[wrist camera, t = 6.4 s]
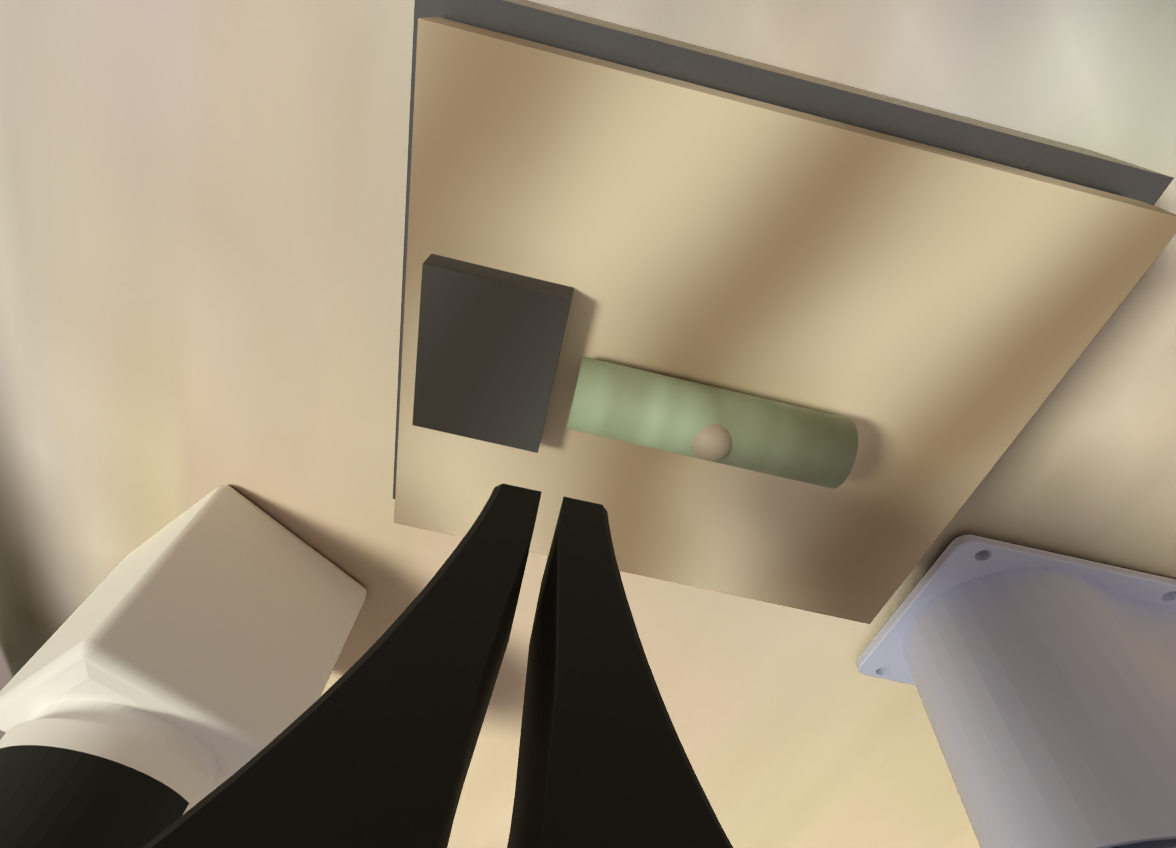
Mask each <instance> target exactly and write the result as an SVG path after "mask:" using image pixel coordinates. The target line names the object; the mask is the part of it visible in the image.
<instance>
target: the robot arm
mask: <svg viewBox="0 0 1176 848" xmlns="http://www.w3.org/2000/svg"><path fill="white" fill-rule="evenodd" d="M541 493H542V492H541V491H536V490H531V489H527V488H522V487H517V486H513V485H508V484H503V483H502V484H500V485H498V486H496V487H494V489H493V491H492V493H491V495H490V497H489V499H488V501H487V503H486V504H485V506H484V508H483V510H482V511H481V513H480V514H479V516H478V518H477V519H476V521H475V522H474V524H473V525H472V527H471V528H470V529H469V531H468V532H467V534H466V535H465V537H464V538H463V539H462V541H461V542H460V544H459V545H458V546H457V548H456V549H455V550H454V551H453V553H452V554H451V555H450V557H449V558H448V559H447V560H446V562H445V563H444V564H443V565H442V567H441V568H440V569H439V571H438V572H437V573H436V574H435V576H434V577H433V578H432V579H431V581H430V582H429V583H428V584H427V586H426V587H425V588H424V589H423V590H422V592H421V593H420V594H419V595H418V596H417V597H416V598H415V599H414V601H413V602H412V603H411V604H410V605H409V606H408V607H407V608H406V610H405V611H404V612H403V613H402V614H401V615H400V616H399V617H398V618H397V620H396V621H395V622H394V623H393V624H392V625H391V626H390V627H389V629H388V630H387V631H386V632H385V633H384V634H383V635H382V636H381V637H380V638H379V639H378V640H377V642H376V643H375V644H374V645H373V646H372V647H371V648H370V649H369V650H368V651H367V652H366V653H365V654H364V655H363V656H362V657H361V658H360V659H359V660H358V661H357V662H356V663H355V664H354V665H353V666H352V667H351V668H350V669H349V670H348V671H347V672H346V673H345V674H344V675H343V676H342V677H341V678H340V679H339V680H338V681H337V682H336V683H335V684H334V685H333V686H332V687H331V688H329V689H328V690H327V691H326V692H325V693H324V694H323V695H322V696H321V697H320V698H319V699H318V700H317V701H316V702H315V703H314V704H312V705H311V706H310V707H309V708H308V709H307V710H306V711H305V712H304V713H303V714H301V715H300V716H299V717H298V718H297V719H296V720H295V721H294V722H293V723H291V724H290V725H289V726H288V727H287V728H286V729H285V730H284V731H283V732H281V733H280V734H279V735H278V736H277V737H276V738H275V739H274V740H273V741H272V742H270V743H269V744H268V745H267V746H266V747H265V748H264V749H262V750H261V751H260V752H259V753H258V754H257V755H255V756H254V757H253V758H252V759H251V760H250V761H248V762H247V763H246V764H245V765H244V766H243V767H241V768H240V769H239V770H238V771H237V772H235V773H234V774H233V775H232V776H231V777H229V778H228V779H227V780H226V781H224V782H223V783H222V784H221V785H219V786H218V787H217V788H216V789H214V790H213V791H212V792H211V793H210V794H208V795H207V796H206V797H205V798H203V799H202V800H201V801H200V802H198V803H197V804H196V805H195V806H193V807H192V808H191V809H190V810H188V811H187V812H186V813H185V814H183V815H182V816H181V817H180V818H178V819H177V820H176V821H175V822H173V823H172V824H171V825H170V826H168V827H167V828H166V829H165V830H163V831H162V832H161V833H160V834H158V835H157V836H156V837H155V838H153V839H152V840H151V841H150V842H148V843H147V844H146V845H145V846H143V847H142V848H447V846H448V842H449V837H450V833H451V829H452V824H453V820H454V816H455V813H456V809H457V806H458V802H459V798H460V795H461V791H462V788H463V784H464V781H465V778H466V775H467V771H468V768H469V765H470V762H471V759H472V755H473V752H474V749H475V746H476V743H477V740H478V736H479V733H480V730H481V727H482V724H483V721H484V717H485V714H486V711H487V708H488V705H489V702H490V698H491V695H492V692H493V689H494V686H495V682H496V679H497V676H498V673H499V670H500V667H501V663H502V660H503V657H504V654H505V651H506V647H507V644H508V641H509V637H510V632H511V628H512V623H513V619H514V615H515V610H516V606H517V601H518V597H519V593H520V588H521V584H522V579H523V575H524V571H525V566H526V562H527V557H528V553H529V548H530V544H531V540H532V535H533V531H534V526H535V522H536V517H537V512H538V507H539V502H540V498H541ZM982 550H983V551H982ZM979 551H980V552H979ZM856 665H857V668H858V671H859V672H860V673H861V674H864V675H867V676H872V677H877V678H882V679H887V680H892V681H897V682H902V683H907V684H912V685H916V688H917V690H918V693H919V695H920V698H921V700H922V703H923V705H924V708H925V710H926V713H927V715H928V718H929V720H930V723H931V725H932V728H933V730H934V733H935V735H936V738H937V740H938V743H939V745H940V748H941V750H942V753H943V755H944V758H945V760H946V763H947V765H948V768H949V770H950V773H951V775H952V778H953V780H954V783H955V785H956V788H957V790H958V793H959V795H960V798H961V800H962V803H963V805H964V808H965V810H966V813H967V815H968V818H969V820H970V823H971V825H972V828H973V830H974V833H975V835H976V838H977V840H978V843H979V845H980V848H1176V579H1171V578H1167V577H1162V576H1157V575H1153V574H1148V573H1144V572H1139V571H1135V570H1130V569H1126V568H1121V567H1116V566H1112V565H1107V564H1103V563H1098V562H1094V561H1089V560H1085V559H1080V558H1075V557H1071V556H1066V555H1062V554H1057V553H1053V552H1048V551H1044V550H1039V549H1034V548H1030V547H1025V546H1021V545H1016V544H1012V543H1007V542H1003V541H998V540H993V539H989V538H984V537H980V536H975V535H962V536H959V537H957V538H955V539H954V540H953V541H952V542H951V543H950V545H949V546H948V547H947V548H946V549H945V551H944V552H943V553H942V554H941V556H940V557H939V558H938V559H937V561H936V562H935V563H934V564H933V566H932V567H931V568H930V569H929V571H928V572H927V573H926V574H925V576H924V577H923V578H922V579H921V580H920V582H919V583H918V584H917V585H916V587H915V588H914V589H913V590H912V592H911V593H910V594H909V595H908V597H907V598H906V599H905V600H904V602H903V603H902V604H901V605H900V606H899V608H898V609H897V610H896V611H895V613H894V614H893V615H892V616H891V618H890V619H889V620H888V621H887V623H886V624H885V625H884V626H883V628H882V629H881V630H880V631H879V633H878V634H877V635H876V636H875V637H874V639H873V640H872V641H871V642H870V644H869V645H868V646H867V647H866V649H865V650H864V651H863V652H862V654H861V655H860V656H859V657H858V659H857V660H856ZM507 848H733V847H732V845H731V843H730V841H729V839H728V838H727V836H726V834H725V832H724V830H723V829H722V827H721V825H720V823H719V821H718V819H717V817H716V815H715V813H714V811H713V809H712V807H711V805H710V803H709V801H708V799H707V797H706V795H705V793H704V791H703V789H702V787H701V785H700V783H699V781H698V779H697V776H696V774H695V772H694V770H693V768H692V766H691V764H690V762H689V759H688V757H687V755H686V753H685V751H684V748H683V746H682V744H681V742H680V740H679V738H678V735H677V733H676V731H675V728H674V726H673V724H672V721H671V719H670V717H669V714H668V712H667V710H666V707H665V705H664V702H663V700H662V697H661V695H660V692H659V690H658V687H657V685H656V682H655V679H654V677H653V674H652V671H651V669H650V666H649V664H648V661H647V658H646V655H645V653H644V650H643V647H642V644H641V641H640V638H639V635H638V632H637V629H636V626H635V623H634V620H633V617H632V613H631V610H630V607H629V604H628V601H627V598H626V594H625V591H624V587H623V584H622V580H621V576H620V572H619V568H618V564H617V560H616V556H615V552H614V547H613V543H612V538H611V532H610V526H609V520H608V512H607V510H606V509H605V508H604V506H603V505H602V504H597V503H592V502H587V501H583V500H578V499H573V498H569V497H563V500H562V504H561V508H560V512H559V516H558V520H557V524H556V528H555V532H554V536H553V540H552V544H551V548H550V551H549V555H548V559H547V563H546V567H545V571H544V575H543V579H542V583H541V588H540V593H539V598H538V603H537V608H536V613H535V618H534V624H533V629H532V634H531V639H530V644H529V654H528V664H527V674H526V684H525V695H524V705H523V716H522V726H521V737H520V747H519V758H518V768H517V779H516V790H515V798H514V806H513V814H512V821H511V829H510V835H509V841H508V846H507Z"/></svg>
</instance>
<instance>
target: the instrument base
mask: <svg viewBox="0 0 1176 848" xmlns="http://www.w3.org/2000/svg"><path fill="white" fill-rule="evenodd" d="M427 17H441V18H445V19H449V20H452V21H456V22H460V23H464V24H468V25H471V26H475V27H479V28H483V29H487V30H491V31H494V32H498V33H502V34H506V35H510V36H513V37H517V38H521V39H525V40H529V41H532V42H536V43H540V44H544V45H548V46H551V47H555V48H559V49H563V50H567V51H571V52H574V53H578V54H582V55H586V56H590V57H593V58H597V59H601V60H605V61H609V62H612V63H616V64H620V65H624V66H628V67H632V68H635V69H639V70H643V71H647V72H651V73H654V74H658V75H662V76H666V77H670V78H673V79H677V80H681V81H685V82H689V83H693V84H696V85H700V86H704V87H708V88H712V89H715V90H719V91H723V92H727V93H731V94H734V95H738V96H742V97H746V98H750V99H754V100H757V101H761V102H765V103H769V104H773V105H776V106H780V107H784V108H788V109H792V110H795V111H799V112H803V113H807V114H811V115H815V116H818V117H822V118H826V119H830V120H834V121H837V122H841V123H845V124H849V125H853V126H856V127H860V128H864V129H868V130H872V131H876V132H879V133H883V134H887V135H891V136H895V137H898V138H902V139H906V140H910V141H914V142H917V143H921V144H925V145H929V146H933V147H937V148H940V149H944V150H948V151H952V152H956V153H959V154H963V155H967V156H971V157H975V158H978V159H982V160H986V161H990V162H994V163H998V164H1001V165H1005V166H1009V167H1013V168H1017V169H1020V170H1024V171H1028V172H1032V173H1036V174H1039V175H1043V176H1047V177H1051V178H1055V179H1059V180H1062V181H1066V182H1070V183H1074V184H1078V185H1081V186H1085V187H1089V188H1093V189H1097V190H1100V191H1104V192H1108V193H1112V194H1116V195H1119V196H1123V197H1127V198H1131V199H1135V200H1139V201H1142V202H1145V203H1147V204H1150V205H1152V206H1154V204H1155V203H1156V202H1157V200H1158V199H1159V197H1160V196H1161V195H1162V193H1163V192H1164V191H1165V189H1166V188H1167V187H1168V185H1169V184H1170V183H1171V181H1172V180H1173V179H1174V178H1173V177H1170V176H1166V175H1163V174H1160V173H1157V172H1154V171H1151V170H1148V169H1145V168H1142V167H1139V166H1136V165H1133V164H1130V163H1127V162H1124V161H1121V160H1118V159H1115V158H1112V157H1109V156H1106V155H1103V154H1100V153H1097V152H1094V151H1091V150H1087V149H1083V148H1080V147H1076V146H1072V145H1068V144H1065V143H1061V142H1057V141H1053V140H1050V139H1046V138H1042V137H1038V136H1035V135H1031V134H1027V133H1023V132H1020V131H1016V130H1012V129H1008V128H1004V127H1001V126H997V125H993V124H989V123H986V122H982V121H978V120H974V119H971V118H967V117H963V116H959V115H956V114H952V113H948V112H944V111H941V110H937V109H933V108H929V107H925V106H922V105H918V104H914V103H910V102H907V101H903V100H899V99H895V98H892V97H888V96H884V95H880V94H877V93H873V92H869V91H865V90H862V89H858V88H854V87H850V86H846V85H843V84H839V83H835V82H831V81H828V80H824V79H820V78H816V77H813V76H809V75H805V74H801V73H798V72H794V71H790V70H786V69H783V68H779V67H775V66H771V65H768V64H764V63H760V62H756V61H752V60H749V59H745V58H741V57H737V56H734V55H730V54H726V53H722V52H719V51H715V50H711V49H707V48H704V47H700V46H696V45H692V44H689V43H685V42H681V41H677V40H673V39H670V38H666V37H662V36H658V35H655V34H651V33H647V32H643V31H640V30H636V29H632V28H628V27H625V26H621V25H617V24H613V23H610V22H606V21H602V20H598V19H594V18H591V17H587V16H583V15H579V14H576V13H572V12H568V11H564V10H561V9H557V8H553V7H549V6H546V5H542V4H538V3H534V2H531V1H527V0H415V9H414V32H413V54H412V77H411V100H410V122H409V145H408V168H407V190H406V213H405V236H404V258H403V281H402V304H401V326H400V349H399V372H398V394H397V417H396V440H395V462H394V485H393V499H395V495H396V474H397V453H398V431H399V410H400V389H401V368H402V347H403V325H404V304H405V283H406V262H407V241H408V220H409V198H410V177H411V156H412V135H413V114H414V93H415V71H416V50H417V29H418V18H427Z"/></svg>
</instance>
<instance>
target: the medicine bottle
mask: <svg viewBox="0 0 1176 848" xmlns="http://www.w3.org/2000/svg"><path fill="white" fill-rule="evenodd" d="M366 595H367V591H366V589H365V588H364V587H363V586H362V585H360V584H359V583H358V582H356V581H355V580H354V579H352V578H351V577H350V576H348V575H347V574H346V573H344V572H343V571H342V570H340V569H339V568H338V567H337V566H335V565H334V564H333V563H331V562H330V561H329V560H327V559H326V558H325V557H323V556H322V555H321V554H319V553H318V552H317V551H315V550H314V549H313V548H311V547H310V546H309V545H307V544H306V543H305V542H303V541H302V540H301V539H299V538H298V537H297V536H295V535H294V534H293V533H291V532H290V531H289V530H287V529H286V528H285V527H284V526H282V525H281V524H280V523H278V522H277V521H276V520H274V519H273V518H272V517H270V516H269V515H268V514H266V513H265V512H264V511H262V510H261V509H260V508H258V507H257V506H256V505H254V504H253V503H252V502H250V501H249V500H248V499H246V498H245V497H244V496H242V495H241V494H240V493H238V492H237V491H236V490H234V489H233V488H232V487H230V486H225V485H222V486H219V487H217V488H216V489H214V490H213V491H212V492H210V493H209V494H208V495H206V496H205V497H204V498H202V499H201V500H200V501H198V502H197V503H196V504H194V505H193V506H192V507H190V508H189V509H188V510H186V511H185V512H184V513H182V514H181V515H180V516H179V517H177V518H176V519H175V520H173V521H172V522H171V523H169V524H168V525H167V526H165V527H164V528H163V529H161V530H160V531H159V532H157V533H156V534H155V535H153V536H152V537H151V538H149V539H148V540H147V541H145V542H144V543H143V544H141V545H140V546H139V547H137V548H136V549H135V550H134V551H132V552H131V553H130V554H128V555H127V556H126V557H125V558H124V559H123V560H122V561H121V562H120V563H119V564H118V565H117V567H116V568H115V569H114V570H113V571H112V572H111V573H110V574H109V575H108V576H107V577H106V578H105V579H104V581H103V582H102V583H101V584H100V585H99V586H98V587H97V588H96V589H95V590H94V591H93V592H92V593H91V594H90V596H89V597H88V598H87V599H86V600H85V601H84V602H83V603H82V604H81V605H80V606H79V607H78V608H77V610H76V611H75V612H74V613H73V614H72V615H71V616H70V617H69V618H68V619H67V620H66V621H65V622H64V624H63V625H62V626H61V627H60V628H59V629H58V630H57V631H56V632H55V633H54V634H53V635H52V636H51V637H50V639H49V640H48V641H47V642H46V643H45V644H44V645H43V646H42V647H41V648H40V649H39V650H38V651H37V653H36V654H35V655H34V656H33V657H32V658H31V659H30V660H29V661H28V662H27V663H26V664H25V665H24V666H23V668H22V669H21V670H20V671H19V672H18V673H17V674H16V675H15V676H14V677H13V678H12V679H11V680H10V682H9V683H8V684H7V685H6V686H5V687H4V688H3V689H2V690H1V691H0V730H1V731H4V732H6V734H5V735H4V736H3V737H2V739H1V740H0V848H142V847H143V846H145V845H146V844H147V843H148V842H150V841H151V840H152V839H153V838H155V837H156V836H157V835H158V834H160V833H161V832H162V831H163V830H165V829H166V828H167V827H168V826H170V825H171V824H172V823H173V822H175V821H176V820H177V819H178V818H180V817H181V816H182V815H183V814H185V813H186V812H187V811H188V810H190V809H191V808H192V807H193V806H195V805H196V804H197V803H198V802H200V801H201V800H202V799H203V798H205V797H206V796H207V795H208V794H210V793H211V792H212V791H213V790H214V789H216V788H217V787H218V786H219V785H221V784H222V783H223V782H224V781H226V780H227V779H228V778H229V777H231V776H232V775H233V774H234V773H235V772H237V771H238V770H239V769H240V768H241V767H243V766H244V765H245V764H246V763H247V762H248V761H250V760H251V759H252V758H253V757H254V756H255V755H257V754H258V753H259V752H260V751H261V750H262V749H264V748H265V747H266V746H267V745H268V744H269V743H270V742H272V741H273V740H274V739H275V738H276V737H277V736H278V735H279V734H280V733H281V732H283V731H284V730H285V729H286V728H287V727H288V726H289V725H290V724H291V723H293V722H294V721H295V720H296V719H297V718H298V717H299V716H300V715H301V714H303V713H304V712H305V711H306V710H307V709H308V708H309V707H310V706H311V705H312V704H314V703H315V702H316V701H317V700H318V699H319V698H320V696H321V694H322V692H323V690H324V688H325V685H326V683H327V681H328V679H329V677H330V675H331V672H332V670H333V668H334V666H335V664H336V662H337V660H338V657H339V655H340V653H341V651H342V649H343V647H344V644H345V642H346V640H347V638H348V636H349V634H350V631H351V629H352V627H353V625H354V623H355V621H356V618H357V616H358V614H359V612H360V610H361V608H362V606H363V603H364V601H365V599H366Z"/></svg>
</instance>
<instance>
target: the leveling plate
mask: <svg viewBox="0 0 1176 848" xmlns="http://www.w3.org/2000/svg"><path fill="white" fill-rule="evenodd" d="M1175 233H1176V215H1175V214H1172V213H1170V212H1167V211H1165V210H1162V209H1160V208H1157V207H1155V206H1152V205H1150V204H1147V203H1145V202H1142V201H1139V200H1135V199H1131V198H1127V197H1123V196H1119V195H1116V194H1112V193H1108V192H1104V191H1100V190H1097V189H1093V188H1089V187H1085V186H1081V185H1078V184H1074V183H1070V182H1066V181H1062V180H1059V179H1055V178H1051V177H1047V176H1043V175H1039V174H1036V173H1032V172H1028V171H1024V170H1020V169H1017V168H1013V167H1009V166H1005V165H1001V164H998V163H994V162H990V161H986V160H982V159H978V158H975V157H971V156H967V155H963V154H959V153H956V152H952V151H948V150H944V149H940V148H937V147H933V146H929V145H925V144H921V143H917V142H914V141H910V140H906V139H902V138H898V137H895V136H891V135H887V134H883V133H879V132H876V131H872V130H868V129H864V128H860V127H856V126H853V125H849V124H845V123H841V122H837V121H834V120H830V119H826V118H822V117H818V116H815V115H811V114H807V113H803V112H799V111H795V110H792V109H788V108H784V107H780V106H776V105H773V104H769V103H765V102H761V101H757V100H754V99H750V98H746V97H742V96H738V95H734V94H731V93H727V92H723V91H719V90H715V89H712V88H708V87H704V86H700V85H696V84H693V83H689V82H685V81H681V80H677V79H673V78H670V77H666V76H662V75H658V74H654V73H651V72H647V71H643V70H639V69H635V68H632V67H628V66H624V65H620V64H616V63H612V62H609V61H605V60H601V59H597V58H593V57H590V56H586V55H582V54H578V53H574V52H571V51H567V50H563V49H559V48H555V47H551V46H548V45H544V44H540V43H536V42H532V41H529V40H525V39H521V38H517V37H513V36H510V35H506V34H502V33H498V32H494V31H491V30H487V29H483V28H479V27H475V26H471V25H468V24H464V23H460V22H456V21H452V20H449V19H445V18H441V17H427V18H418V29H417V50H416V71H415V93H414V114H413V135H412V156H411V177H410V198H409V220H408V241H407V262H406V283H405V304H404V325H403V347H402V368H401V389H400V410H399V431H398V453H397V474H396V495H395V516H394V523H397V524H402V525H407V526H412V527H416V528H421V529H426V530H430V531H435V532H440V533H444V534H449V535H454V536H459V537H463V538H464V537H465V535H466V534H467V532H468V531H469V529H470V528H471V527H472V525H473V524H474V522H475V521H476V519H477V518H478V516H479V514H480V513H481V511H482V510H483V508H484V506H485V504H486V503H487V501H488V499H489V497H490V495H491V493H492V491H493V489H494V487H496V486H498V485H500V484H502V483H503V484H508V485H513V486H517V487H522V488H527V489H531V490H536V491H541V492H542V493H541V498H540V502H539V507H538V512H537V517H536V522H535V526H534V531H533V535H532V540H531V544H530V548H529V552H534V553H538V554H543V555H549V551H550V548H551V544H552V540H553V536H554V532H555V528H556V524H557V520H558V516H559V512H560V508H561V504H562V500H563V497H569V498H573V499H578V500H583V501H587V502H592V503H597V504H602V505H603V506H604V508H605V509H606V510H607V512H608V520H609V526H610V532H611V538H612V543H613V547H614V552H615V556H616V560H617V564H618V568H619V571H623V572H628V573H632V574H637V575H642V576H646V577H651V578H656V579H661V580H665V581H670V582H675V583H679V584H684V585H689V586H693V587H698V588H703V589H708V590H712V591H717V592H722V593H726V594H731V595H736V596H740V597H745V598H750V599H755V600H759V601H764V602H769V603H773V604H778V605H783V606H787V607H792V608H797V609H801V610H806V611H811V612H816V613H820V614H825V615H830V616H834V617H839V618H844V619H848V620H853V621H858V622H863V623H867V624H870V623H871V622H872V620H873V619H874V618H875V617H876V615H877V614H878V613H879V612H880V610H881V609H882V608H883V606H884V605H885V604H886V603H887V601H888V600H889V599H890V597H891V596H892V595H893V594H894V592H895V591H896V590H897V589H898V587H899V586H900V585H901V583H902V582H903V581H904V580H905V578H906V577H907V576H908V574H909V573H910V572H911V571H912V569H913V568H914V567H915V566H916V564H917V563H918V562H919V560H920V559H921V558H922V557H923V555H924V554H925V553H926V551H927V550H928V549H929V548H930V546H931V545H932V544H933V543H934V541H935V540H936V539H937V537H938V536H939V535H940V534H941V532H942V531H943V530H944V529H945V527H946V526H947V525H948V523H949V522H950V521H951V520H952V518H953V517H954V516H955V514H956V513H957V512H958V511H959V509H960V508H961V507H962V506H963V504H964V503H965V502H966V500H967V499H968V498H969V497H970V495H971V494H972V493H973V491H974V490H975V489H976V488H977V486H978V485H979V484H980V483H981V481H982V480H983V479H984V477H985V476H986V475H987V474H988V472H989V471H990V470H991V468H992V467H993V466H994V465H995V463H996V462H997V461H998V460H999V458H1000V457H1001V456H1002V454H1003V453H1004V452H1005V451H1006V449H1007V448H1008V447H1009V445H1010V444H1011V443H1012V442H1013V440H1014V439H1015V438H1016V437H1017V435H1018V434H1019V433H1020V431H1021V430H1022V429H1023V428H1024V426H1025V425H1026V424H1027V422H1028V421H1029V420H1030V419H1031V417H1032V416H1033V415H1034V414H1035V412H1036V411H1037V410H1038V408H1039V407H1040V406H1041V405H1042V403H1043V402H1044V401H1045V400H1046V398H1047V397H1048V396H1049V394H1050V393H1051V392H1052V391H1053V389H1054V388H1055V387H1056V385H1057V384H1058V383H1059V382H1060V380H1061V379H1062V378H1063V377H1064V375H1065V374H1066V373H1067V371H1068V370H1069V369H1070V368H1071V366H1072V365H1073V364H1074V362H1075V361H1076V360H1077V359H1078V357H1079V356H1080V355H1081V354H1082V352H1083V351H1084V350H1085V348H1086V347H1087V346H1088V345H1089V343H1090V342H1091V341H1092V339H1093V338H1094V337H1095V336H1096V334H1097V333H1098V332H1099V331H1100V329H1101V328H1102V327H1103V325H1104V324H1105V323H1106V322H1107V320H1108V319H1109V318H1110V316H1111V315H1112V314H1113V313H1114V311H1115V310H1116V309H1117V308H1118V306H1119V305H1120V304H1121V302H1122V301H1123V300H1124V299H1125V297H1126V296H1127V295H1128V293H1129V292H1130V291H1131V290H1132V288H1133V287H1134V286H1135V285H1136V283H1137V282H1138V281H1139V279H1140V278H1141V277H1142V276H1143V274H1144V273H1145V272H1146V271H1147V269H1148V268H1149V267H1150V265H1151V264H1152V263H1153V262H1154V260H1155V259H1156V258H1157V256H1158V255H1159V254H1160V253H1161V251H1162V250H1163V249H1164V248H1165V246H1166V245H1167V244H1168V242H1169V241H1170V240H1171V239H1172V237H1173V236H1174V235H1175Z"/></svg>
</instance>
